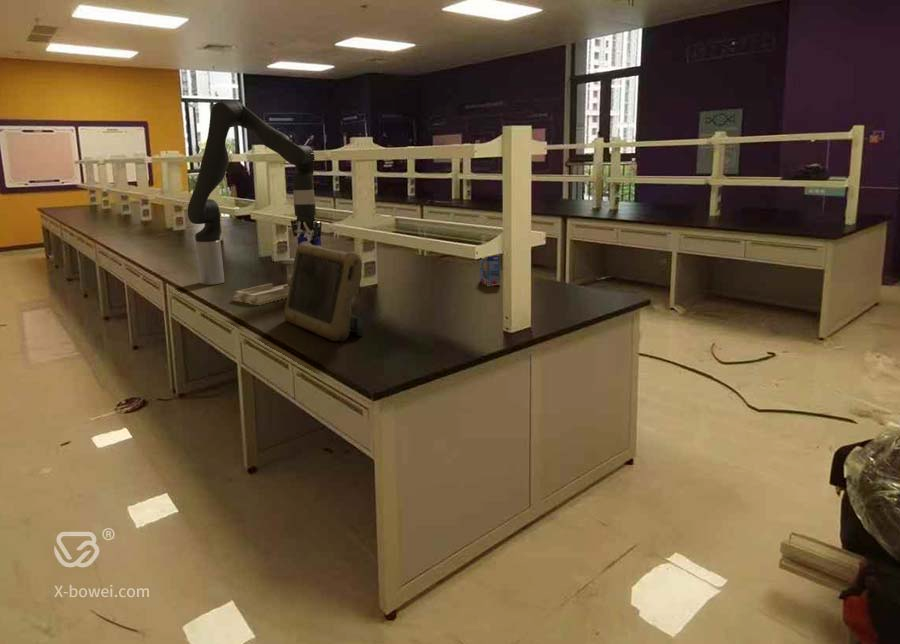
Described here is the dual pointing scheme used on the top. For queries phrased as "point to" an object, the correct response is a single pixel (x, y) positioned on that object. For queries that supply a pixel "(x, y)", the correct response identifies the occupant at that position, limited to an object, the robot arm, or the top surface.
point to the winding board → (266, 290)
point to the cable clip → (303, 239)
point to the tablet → (324, 291)
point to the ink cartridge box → (490, 270)
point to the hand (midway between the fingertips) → (307, 248)
